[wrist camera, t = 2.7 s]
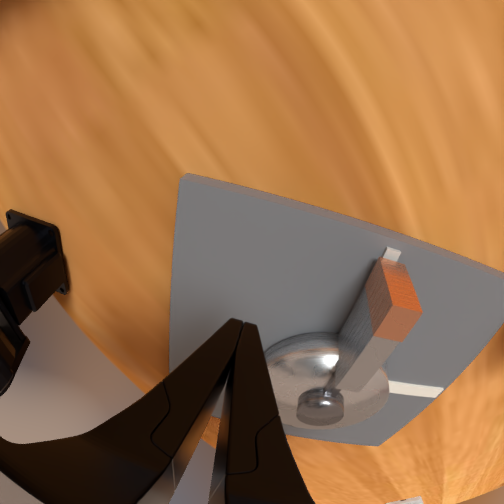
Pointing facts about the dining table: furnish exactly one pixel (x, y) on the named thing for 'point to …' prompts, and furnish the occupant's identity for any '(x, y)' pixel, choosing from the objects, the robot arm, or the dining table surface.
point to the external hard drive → (409, 501)
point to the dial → (346, 356)
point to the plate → (322, 291)
